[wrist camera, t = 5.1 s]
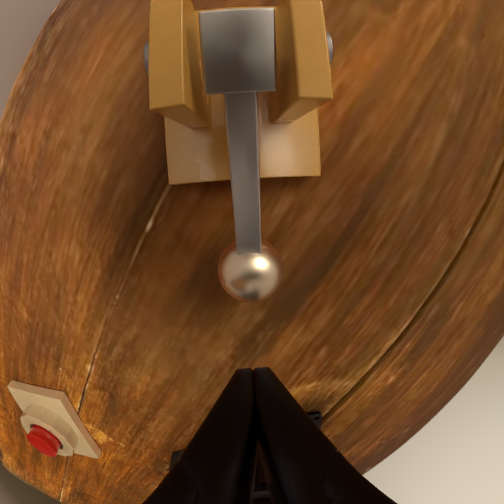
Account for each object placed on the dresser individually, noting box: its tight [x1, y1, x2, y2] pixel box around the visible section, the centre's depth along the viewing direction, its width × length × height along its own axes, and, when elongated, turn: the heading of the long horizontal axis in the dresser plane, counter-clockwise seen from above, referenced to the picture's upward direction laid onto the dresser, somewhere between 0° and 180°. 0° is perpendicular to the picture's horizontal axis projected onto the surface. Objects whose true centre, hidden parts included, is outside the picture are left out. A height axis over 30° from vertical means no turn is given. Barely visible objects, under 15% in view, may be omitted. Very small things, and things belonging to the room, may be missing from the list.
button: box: [27, 424, 62, 457], centre depth 20 cm, size 4×4×2 cm
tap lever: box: [198, 7, 283, 302], centre depth 12 cm, size 13×3×3 cm, turn 4°
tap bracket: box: [144, 0, 333, 185], centre depth 11 cm, size 10×8×9 cm
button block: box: [7, 380, 101, 459], centre depth 22 cm, size 10×8×3 cm
